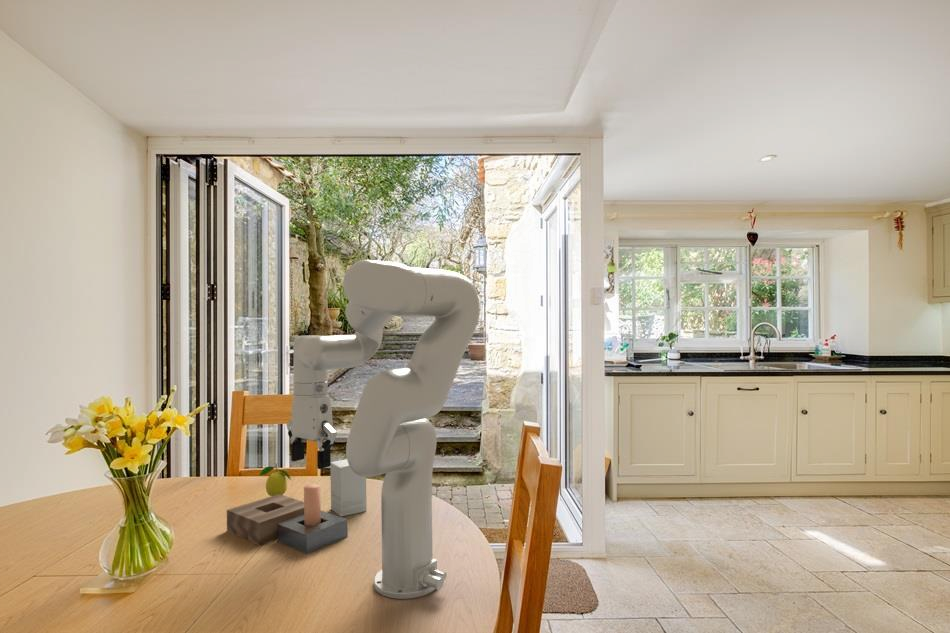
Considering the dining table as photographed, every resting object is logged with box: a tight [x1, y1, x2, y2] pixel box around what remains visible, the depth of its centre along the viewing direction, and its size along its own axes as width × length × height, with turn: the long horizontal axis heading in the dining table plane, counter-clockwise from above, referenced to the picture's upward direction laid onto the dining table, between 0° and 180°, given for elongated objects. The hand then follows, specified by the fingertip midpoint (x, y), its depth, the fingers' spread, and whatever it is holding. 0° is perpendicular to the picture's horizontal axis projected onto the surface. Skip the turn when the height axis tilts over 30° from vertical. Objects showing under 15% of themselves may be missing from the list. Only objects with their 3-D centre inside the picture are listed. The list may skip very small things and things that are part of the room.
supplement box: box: [329, 458, 368, 517], centre depth 140 cm, size 7×7×13 cm
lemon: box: [259, 462, 291, 497], centre depth 149 cm, size 7×6×10 cm
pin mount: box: [276, 510, 349, 555], centre depth 121 cm, size 11×11×4 cm
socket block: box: [226, 494, 304, 546], centre depth 128 cm, size 14×14×5 cm
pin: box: [303, 483, 322, 527], centre depth 121 cm, size 4×4×12 cm
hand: (310, 463), depth 122 cm, fingers open, 9 cm apart
